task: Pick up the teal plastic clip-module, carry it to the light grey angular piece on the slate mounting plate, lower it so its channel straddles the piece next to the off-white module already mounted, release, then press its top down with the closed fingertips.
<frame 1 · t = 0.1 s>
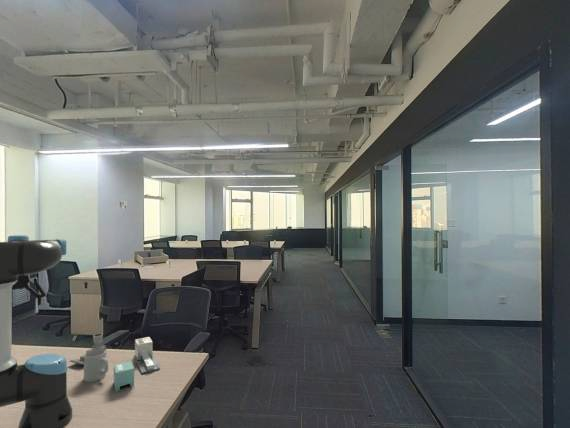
hand: (17, 314, 143), 28 cm above the table, fingers open, 13 cm apart
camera: (90, 361, 157), on the table
light grey angular piece: (146, 362, 155), on the table
module: (123, 384, 135), on the table
mug: (97, 378, 140), on the table
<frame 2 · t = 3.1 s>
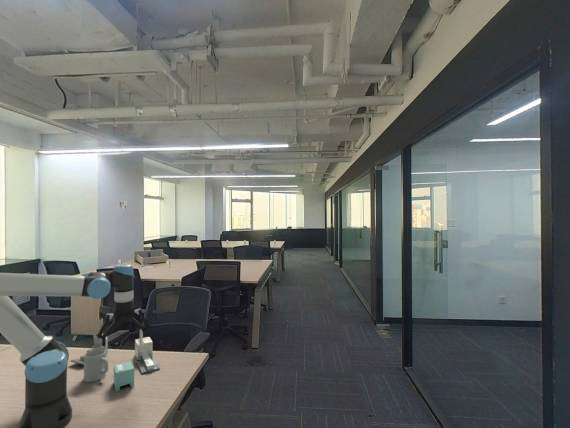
hand: (124, 349, 135), 15 cm above the table, fingers open, 13 cm apart
nothing on the table moved.
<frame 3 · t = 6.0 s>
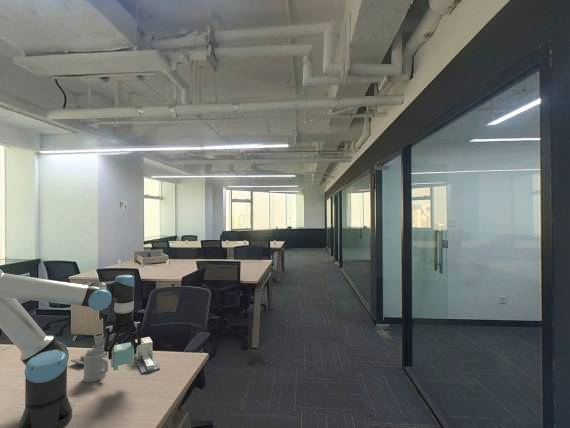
hand: (122, 364, 134), 9 cm above the table, fingers closed on module, 7 cm apart
module: (122, 364, 134), point 9 cm above the table, touching gripper
everything else where it was.
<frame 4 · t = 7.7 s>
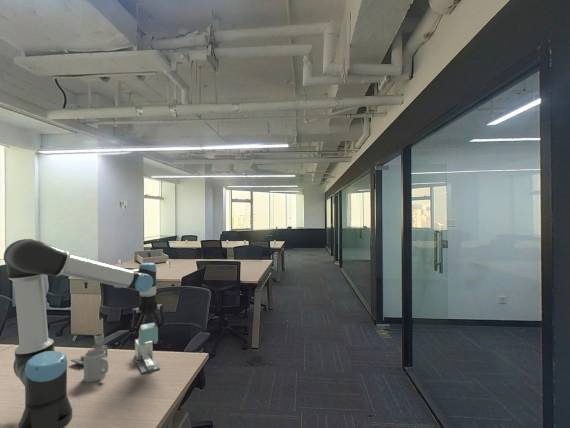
hand: (148, 341, 152), 12 cm above the table, fingers closed on module, 7 cm apart
module: (148, 342, 151), point 12 cm above the table, touching gripper
everything else where it was.
when the fingers open (2 cm above the table, at t = 9.8 s): module stays where it is, resting on light grey angular piece.
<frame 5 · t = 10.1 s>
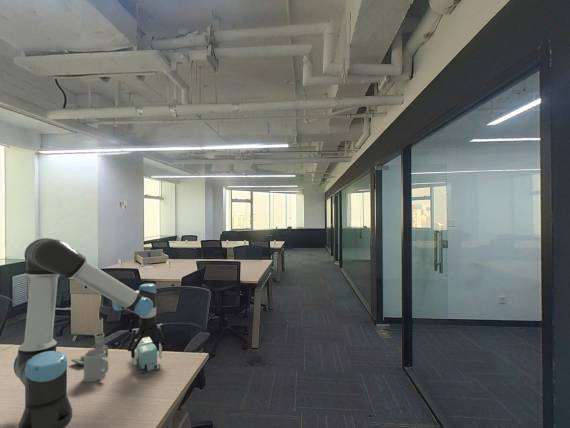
hand: (147, 360, 151), 2 cm above the table, fingers open, 11 cm apart
module: (147, 363, 151), point 1 cm above the table, touching light grey angular piece
everything else where it was.
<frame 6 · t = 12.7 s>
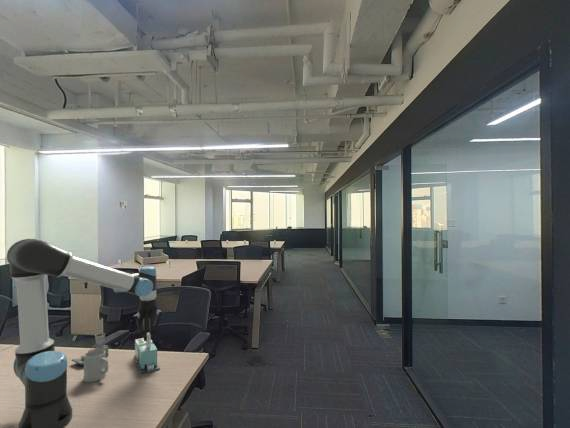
hand: (148, 346, 152), 9 cm above the table, fingers closed
module: (147, 363, 151), point 1 cm above the table, touching gripper, light grey angular piece
everything else where it was.
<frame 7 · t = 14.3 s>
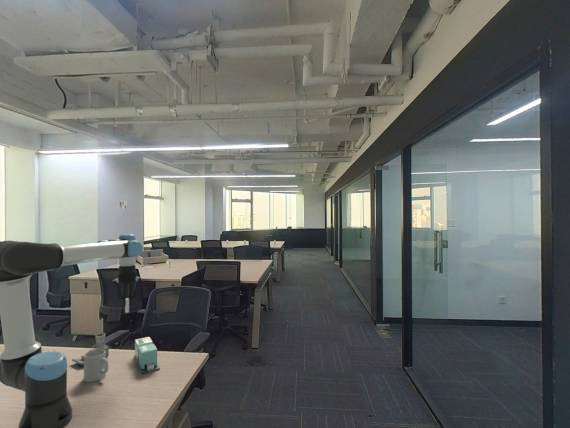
hand: (127, 311, 156), 25 cm above the table, fingers closed
module: (147, 363, 151), point 1 cm above the table, touching light grey angular piece
everything else where it was.
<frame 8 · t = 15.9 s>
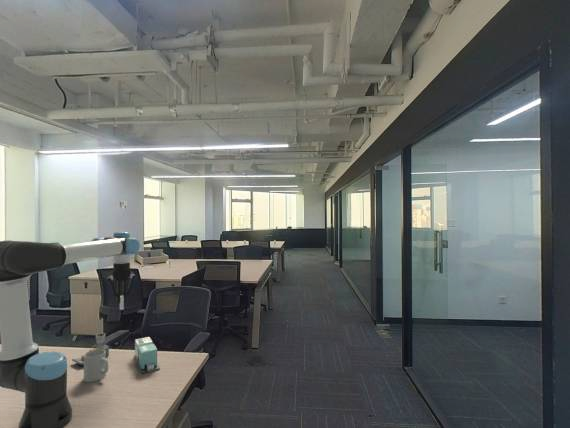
hand: (121, 308, 157), 26 cm above the table, fingers closed
at the end: module 0.1 cm from the target spot on the light grey angular piece, point 1.1 cm above the light grey angular piece's base; module tilted 0°; the gripper is holding nothing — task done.
